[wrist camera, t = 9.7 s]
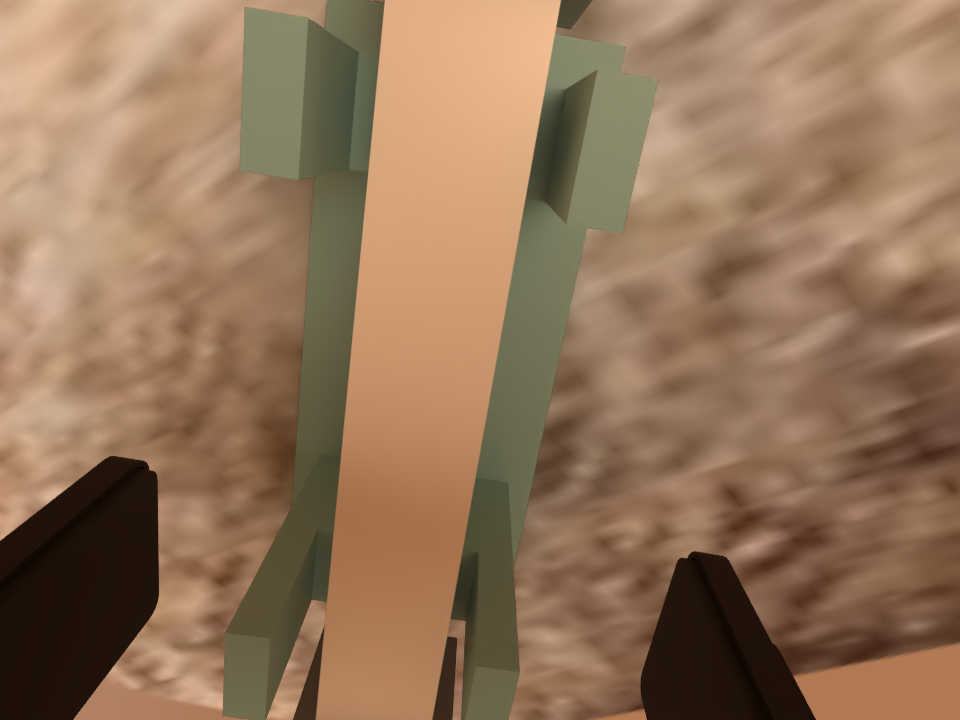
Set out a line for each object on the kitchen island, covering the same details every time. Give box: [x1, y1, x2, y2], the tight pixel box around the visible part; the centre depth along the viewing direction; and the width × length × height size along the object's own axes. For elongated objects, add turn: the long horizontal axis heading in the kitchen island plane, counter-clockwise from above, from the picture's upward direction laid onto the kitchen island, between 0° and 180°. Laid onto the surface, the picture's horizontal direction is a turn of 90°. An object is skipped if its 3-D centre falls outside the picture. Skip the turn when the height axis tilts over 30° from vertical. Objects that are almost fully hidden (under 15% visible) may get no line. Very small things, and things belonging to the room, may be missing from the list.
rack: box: [223, 0, 658, 720], centre depth 20 cm, size 10×22×11 cm, turn 171°
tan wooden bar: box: [293, 0, 592, 720], centre depth 18 cm, size 5×25×5 cm, turn 171°
